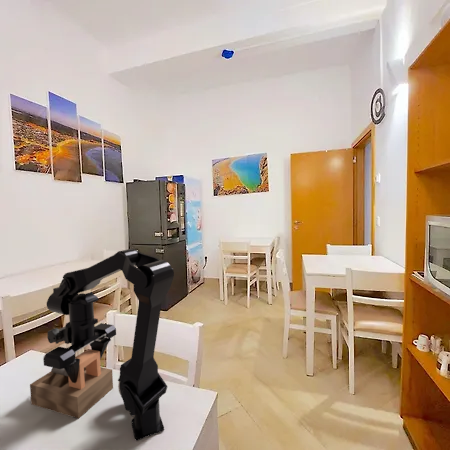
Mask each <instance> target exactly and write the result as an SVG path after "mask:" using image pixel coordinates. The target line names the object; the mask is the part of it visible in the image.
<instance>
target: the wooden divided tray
mask: <svg viewBox="0 0 450 450" xmlns="http://www.w3.org/2000/svg"><path fill="white" fill-rule="evenodd" d="M113 376H114V375H113V369H111V368H107V367H103V366H101V374H100V375H99V376H94V375H89V374H86V367H84V379H85V387H84V388H82V389H78V388H74V387H70V386H69V377H68V374H67V372H66V371H65V369H64V368H63V369H57V368H53V367H51V370H50V371H48V373H46V374H45V375H43V376H40V377H39V378H38V379H36V380H35V381H33V382H32V383H29V388H30V389H29V390H30V404H31V405H32V406H35V407H39V408H42V409H46V410H48V411H51V412H54V413H55V412H56V413H59V414H62V415H65V416H69V417H72V418H75V419H77V420H78V419H80V418H82V416H84V415H85V414H86V413H87V412H88V411H89V410H90V409H92V408H93V407H94V406H95V405H96V404H97V403H99V401H100V400H102V399H103V398H104V397H105V396H106V395H107V394H109V393H110V392H111V391H112V390H113V389H114V380H113V379H114V378H113Z"/></svg>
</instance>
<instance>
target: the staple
mask: <svg viewBox="0 0 450 450" xmlns="http://www.w3.org/2000/svg"><path fill="white" fill-rule="evenodd" d="M75 357H76V359H80V363H79V371H78V378H77V382H76V383H72V381H71V380H70V378H69V386H70V387H74V388H78V389H82V388H84V387H85V379H84V367H86V374H89V375H94V376H99V375H100V374H101V367H102V365H101V364H102V363H101V360H100V351H96V350H91V348H87V349H86V350H85V351H83V352H80V354H78V355H75ZM68 377H69V376H68Z"/></svg>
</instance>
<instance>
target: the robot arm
mask: <svg viewBox="0 0 450 450" xmlns="http://www.w3.org/2000/svg"><path fill="white" fill-rule="evenodd" d="M120 271H122V273H123V276H124V278H125V280H126V281H127V282H129V283H131V284H132V285H133V293H134V294H135V297H136V298H137V300H138V306H137V314H136V319H135V320H136V322H135V329H134V337H133V344H132V351H131V357H130V358H129V359H127V360H126V361H125V362H123V363H122V364H121V365H120V367H119V377H118V379H117V381H118V382H119V381H120V392H121V395H120V397H121V396H122V397H121V399H122V401H123V406H124V409H125V410H126V411H128V413H129V415H130V416H133V418H132V419H131V422H130V423H131V426H132V427H131V428H132V431H133V432H132V433H133V436H134V440H135V441H139V440H142V439H144V438H147V437H150V436H154V435H155V434H159V433H161V432H163V431H164V430H165V426H164V423H163V420H162V417H161V414H160V412H161V411H160V398H161V397H162V396H163V395H165V394H166V393H167V389H168V385H167V383H166V381H164V379H163V378H162V376H161V375H160V374H159V366H158V365H159V364H158V363H157V361H156V360H155V358H154V355H155V349H156V344H157V343H156V342H157V337H158V336H157V335H158V327H159V323H160V322H159V321H160V315H161V309H162V308H161V307H162V303H163V300H164V299H165V297H167V294H168V293H169V290H171V287H172V283H173V281H174V276H175V272H174V268H172V266H171V264H170V263H169V262H168V261H167V260H164V259H159V258H158V257H156V256H153V255H150V254H145V253H143V252H141V251H139V250H138V249H135V248H128V249H124V250H123V249H122V250H118V251H116V252H115V253H114V254H112V255H111V256H109V257H107V258H105V259H103V260H101V261H99V262H97V263H95V264H93V265H91V266H89V267H85V268H82V269H81V268H80V269H77V270H73V271H69V272H66V273H64V275H63V276H62V280H61V281H60V284H59V286H57V287H54V288H52V289H53V290H52V291H53V292H52V293H51V294H50V295H49V296H48V299H47V301H46V308H47V310H49V311H50V312H52V313H55V314H60V315H65V316H69V321H68V322H66V323H65V326H63V327H60V328H58V327H55V328H52V329H50V330H48V331H47V336H46V337H47V340H48V343H50V344H53V343H55V345H57V344H60V343H61V342H64V344H67V345H69V344H70V346H68V347H62V346H57V347H55V348H54V349H51V350H50V351H48V352H46V353H45V354H44V356H43V358H42V359H43V360H42V361H43V366H45V367H49V368H57V369H63V368H64V369H65V371H66V372H67V374H68V376H69V378H70V380H71V381H72V383H76V382H77V378H78V371H79V363H80V359H76V353H77V352H79V351H80V350H82V349H84V348H85V347H87V346H90V349H91V350H96V351H100V361H101V359H102V357H103V355H104V352H105V351H106V349H107V347H108V345H109V343H110V342H111V341H112V340H111V339H112V338H113V337H115V336H116V335H117V329H116V326H114V324H109V323H102V322H101V323H99V319H98V318H97V317H96V318H95V312H94V311H95V310H94V303H95V302H98V301H99V297H98V296H97V295H95V294H94V293H93V292H92V291H91V292H87V293H83V292H86V291H90V290H93V289H94V288H95V287H97V286H98V285H99V284H100V283H101V281H102V280H104V279H105V278H107V277H110V276H112V275H115V274H116V273H118V272H120ZM98 323H99V324H98ZM96 324H98V325H96Z"/></svg>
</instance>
